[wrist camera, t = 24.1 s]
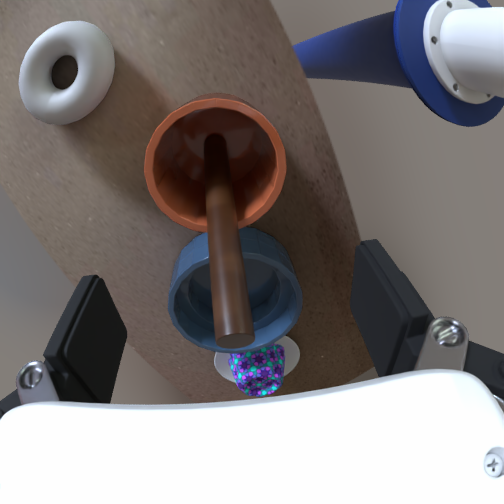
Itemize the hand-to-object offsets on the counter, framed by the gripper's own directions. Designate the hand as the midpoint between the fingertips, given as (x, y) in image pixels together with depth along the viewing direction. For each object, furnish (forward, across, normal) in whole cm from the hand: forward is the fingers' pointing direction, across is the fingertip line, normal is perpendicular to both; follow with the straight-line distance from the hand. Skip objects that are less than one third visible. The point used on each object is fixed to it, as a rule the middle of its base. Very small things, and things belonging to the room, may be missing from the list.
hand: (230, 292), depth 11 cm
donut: (+20, +13, -11) cm, 26 cm away
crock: (+20, +1, -1) cm, 20 cm away
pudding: (+20, 0, +28) cm, 34 cm away
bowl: (+20, +1, +14) cm, 24 cm away
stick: (+19, +1, -1) cm, 19 cm away
